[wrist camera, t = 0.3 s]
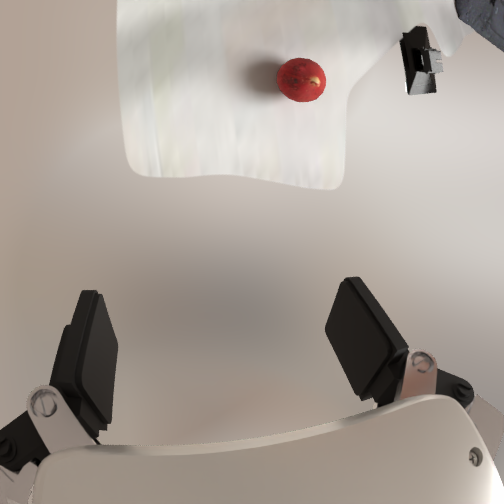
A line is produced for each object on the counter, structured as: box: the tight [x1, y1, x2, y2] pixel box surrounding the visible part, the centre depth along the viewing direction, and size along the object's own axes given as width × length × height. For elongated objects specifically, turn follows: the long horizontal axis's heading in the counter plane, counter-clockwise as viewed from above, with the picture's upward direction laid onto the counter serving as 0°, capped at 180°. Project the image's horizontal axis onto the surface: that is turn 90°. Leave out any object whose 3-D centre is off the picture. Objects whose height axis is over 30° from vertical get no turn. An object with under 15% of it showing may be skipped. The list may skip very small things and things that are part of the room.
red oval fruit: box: [277, 58, 326, 102], centre depth 30 cm, size 6×6×8 cm
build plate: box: [399, 26, 443, 95], centre depth 32 cm, size 12×7×5 cm, turn 15°
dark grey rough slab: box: [456, 0, 504, 52], centre depth 24 cm, size 15×22×5 cm
